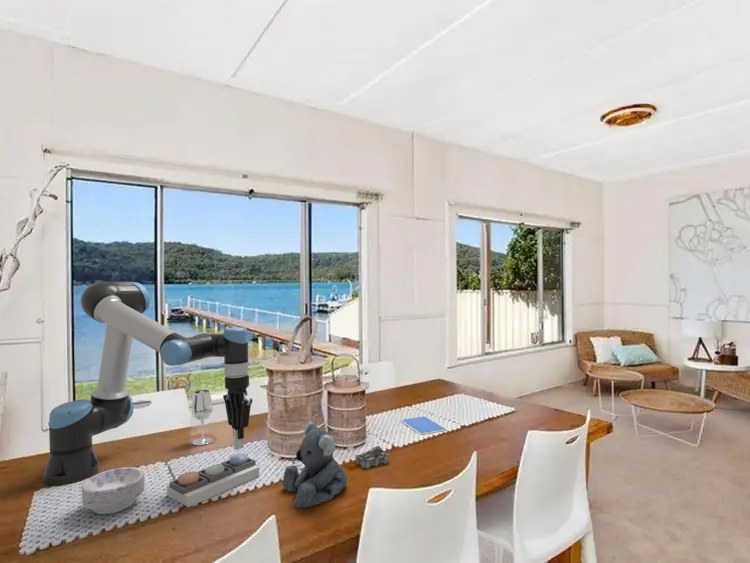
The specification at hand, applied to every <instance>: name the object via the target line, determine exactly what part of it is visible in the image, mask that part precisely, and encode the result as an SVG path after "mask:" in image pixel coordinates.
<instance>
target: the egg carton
mask: <svg viewBox="0 0 750 563" xmlns="http://www.w3.org/2000/svg"><path fill="white" fill-rule="evenodd" d="M389 456H390V454H389V453H387V452H386V451H385V452H384V450H383V448H381V447H380V445H376V446H374V447H372V448H371V449H368V450H367V451H365V452H361V453H359V454H356V455H354V458H355V460H356V461H355V464H357V465H360V468H365V469H369V468H370V467H371V466H375V467H377V466H379V464H384V465H385V464H387V463H388V461H389V460H388V458H389Z"/></svg>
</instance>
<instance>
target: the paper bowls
mask: <svg viewBox="0 0 750 563" xmlns="http://www.w3.org/2000/svg"><path fill="white" fill-rule="evenodd" d="M145 484H146V482H145V472H144V470H143V469H141V468H139V467H138V468H137V467H134V466H133V467H131V466H130V467H129V466H128V467H118V468H112V469H109V470H106V471H102V472H100V473H97V474H94V475H92V476H90V477H88V478H87V480H86V479H85V481H84V483H82V485H81V504H82V506H83V507H84V508H85V509H89V510H92V512H94V513H95V514H98V515H110V514H115V513H119V512H121V511H124V510H126V509H128V508H129V507H131V506H132V505H133V504H134V503H135V502H136V499H138V498H139V497H140V496H141V495H142V494H143V493H144V491H145V488H146V487H145Z"/></svg>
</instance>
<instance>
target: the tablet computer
mask: <svg viewBox="0 0 750 563" xmlns="http://www.w3.org/2000/svg"><path fill="white" fill-rule="evenodd" d="M400 422H401V423H402V424H404V425H405V426H407V427H409V428H410V429H411V430H412V431H414V432H416V433H417V435H420V436H425V435H430V434H437V433H442V432H447V428H445V427H443V426H441V425H440V424H438V423H437V422H435V421H433V420H431V419H430V418H428V417H427V416H420V417H412V418H405V419H402V420H400Z"/></svg>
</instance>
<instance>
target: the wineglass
mask: <svg viewBox="0 0 750 563" xmlns="http://www.w3.org/2000/svg"><path fill="white" fill-rule="evenodd" d="M190 410H191V415H192V417H193V418H194V419H195V420H197V421H200V424H201V437H200V438H197V439H195V440H193V441H192V445H193V446H205V445H208V444H211V443H213V441H214V439H213V438H211V437H205V435H204V434H205V432H204V422H205V421H206V420H207V419H208V418H210V416H211V415H212V413H213V402H212V397H211V393H210V390H209V389H199V390H196V391H194V392H193V396H192V403H191V409H190Z"/></svg>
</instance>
